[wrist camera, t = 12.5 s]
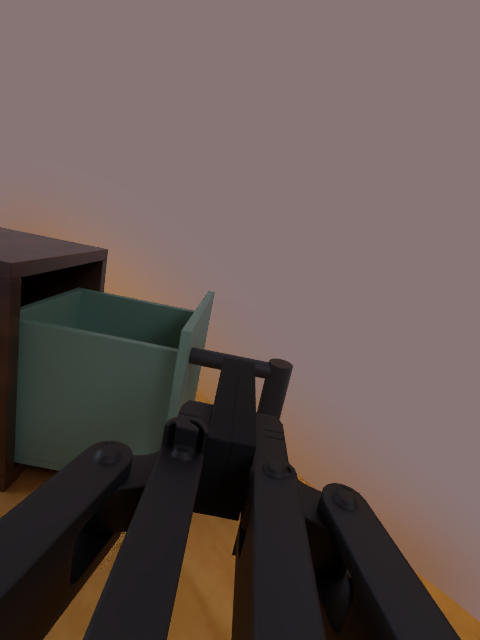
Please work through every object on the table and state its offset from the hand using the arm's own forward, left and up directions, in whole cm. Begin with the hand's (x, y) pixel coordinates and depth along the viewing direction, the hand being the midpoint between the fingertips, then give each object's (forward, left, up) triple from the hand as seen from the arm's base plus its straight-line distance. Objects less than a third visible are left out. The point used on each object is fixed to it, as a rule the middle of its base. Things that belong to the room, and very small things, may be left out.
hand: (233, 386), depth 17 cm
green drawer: (-13, +3, -12) cm, 18 cm away
